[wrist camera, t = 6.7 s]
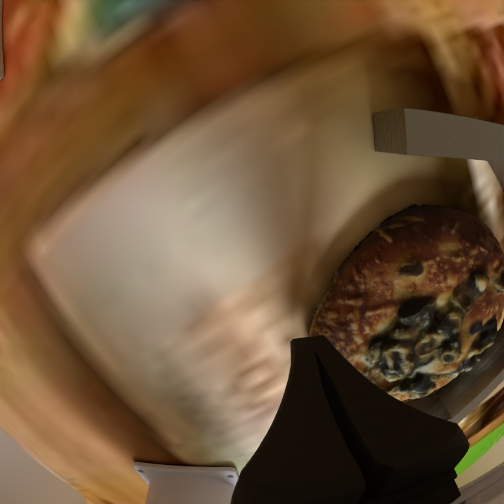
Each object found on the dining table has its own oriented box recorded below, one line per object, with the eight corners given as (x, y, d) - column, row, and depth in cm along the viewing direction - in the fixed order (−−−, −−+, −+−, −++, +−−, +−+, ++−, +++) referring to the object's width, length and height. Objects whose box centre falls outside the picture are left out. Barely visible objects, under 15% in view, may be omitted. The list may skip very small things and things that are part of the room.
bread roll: (472, 159, 10) (552, 199, 6) (481, 314, 15) (519, 364, 11) (260, 269, 12) (274, 362, 8) (339, 392, 17) (357, 458, 13)
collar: (486, 383, 16) (501, 403, 14) (348, 430, 16) (357, 459, 14) (541, 141, 10) (571, 147, 7) (372, 113, 10) (404, 107, 7)
